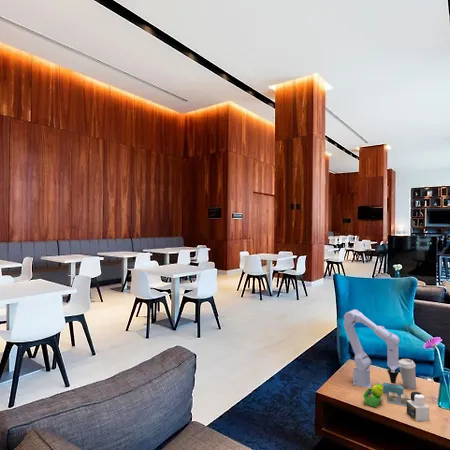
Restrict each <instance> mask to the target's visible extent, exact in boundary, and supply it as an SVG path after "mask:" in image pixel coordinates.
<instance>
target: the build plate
mask: <svg viewBox="0 0 450 450" xmlns="http://www.w3.org/2000/svg"><path fill="white" fill-rule="evenodd" d="M386 394H387V393H386ZM410 400H411V398H410ZM386 403H387V404H391V405H395V406H402V407H405V408H407V404H404V403H401V396H397V402H394V401H389V394H387V395H386Z"/></svg>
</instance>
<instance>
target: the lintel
mask: <svg viewBox="0 0 450 450" xmlns="http://www.w3.org/2000/svg"><path fill="white" fill-rule="evenodd" d="M382 383H383V385H382V386H383V394H388V395H389V392H393V393H397V396H398V397H401V394H403V395H404V385H400V384H396V383H395V384H393V383H391V382H389V383H388V382H385V381H384V382H382Z"/></svg>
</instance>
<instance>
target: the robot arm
mask: <svg viewBox="0 0 450 450" xmlns="http://www.w3.org/2000/svg"><path fill="white" fill-rule="evenodd" d="M343 319H344V320H343V327H344V330H345V332H346V335H347V337H348V340H349V343H350V345H351V348H352V350H353V352H354V353H353V354H354V362H355V363H354V364H355V365H354V366H355V367H353V372H352V376H353V378H352V380H353V381H352V383H353V386H359V387H364V388H367V389H368V388H370V389H371V385H372V382H371V368H370V367H371V366H372V360H371V359H370V357H369V356H368V354H367V353H366V352H365V351H364V349H363V346H362V344H361V342H360V339H359V337H358V334H357V332H356V329H355V324H356V323H361V324H363V325H364V326H366V327H368V328H370V329H371V330H373V332H374V334H375V335H376V336H378V337H379V338H380V339H381V340H383V341H384V342H385V344H386V347H387V348H386V349H387V350H386V352H387V353H386V355H387V357H386V360H387V362H386V365H387V367H388V369H387V371H386V372H387V373H388V376H389V380H390V384H396V382H397V378H398V375H399V373H400V371H398V369H399V367H401V365H399V360H400V359H399V343H400V341H401V340H400V337H399V336H398V335H397V334H395V333H393V332H391V331H388V330H387V329H386V328H385V326H384V325H383V326H382V325H377V324H376V323H374V322H373V320H371V319H369V318H368V317H366V316H365V315H364V314H363V313H362V312H361V311H359V310H358V309H356V308H355V309H351V310H349V311H347V312H345V314H344V316H343Z"/></svg>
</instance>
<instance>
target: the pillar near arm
mask: <svg viewBox="0 0 450 450" xmlns="http://www.w3.org/2000/svg"><path fill="white" fill-rule="evenodd" d="M388 395H389V401H394V402H397V393H393V392H389V394H388Z"/></svg>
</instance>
